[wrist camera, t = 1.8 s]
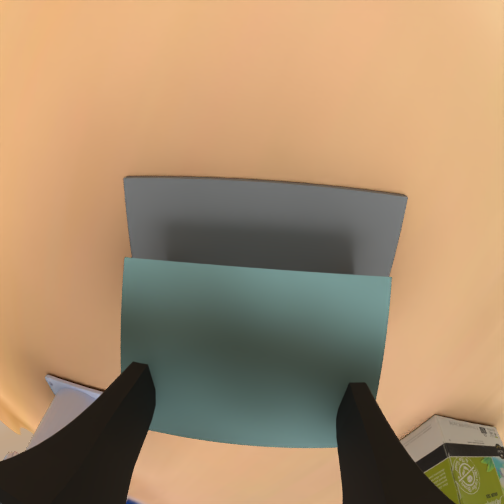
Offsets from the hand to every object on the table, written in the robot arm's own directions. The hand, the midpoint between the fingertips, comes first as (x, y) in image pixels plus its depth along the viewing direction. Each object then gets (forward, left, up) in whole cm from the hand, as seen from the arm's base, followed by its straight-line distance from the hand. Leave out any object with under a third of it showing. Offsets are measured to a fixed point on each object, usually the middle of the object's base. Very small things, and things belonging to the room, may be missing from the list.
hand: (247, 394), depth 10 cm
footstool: (-2, 0, -5) cm, 5 cm away
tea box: (-21, -22, -8) cm, 31 cm away
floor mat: (-2, 0, -7) cm, 8 cm away
